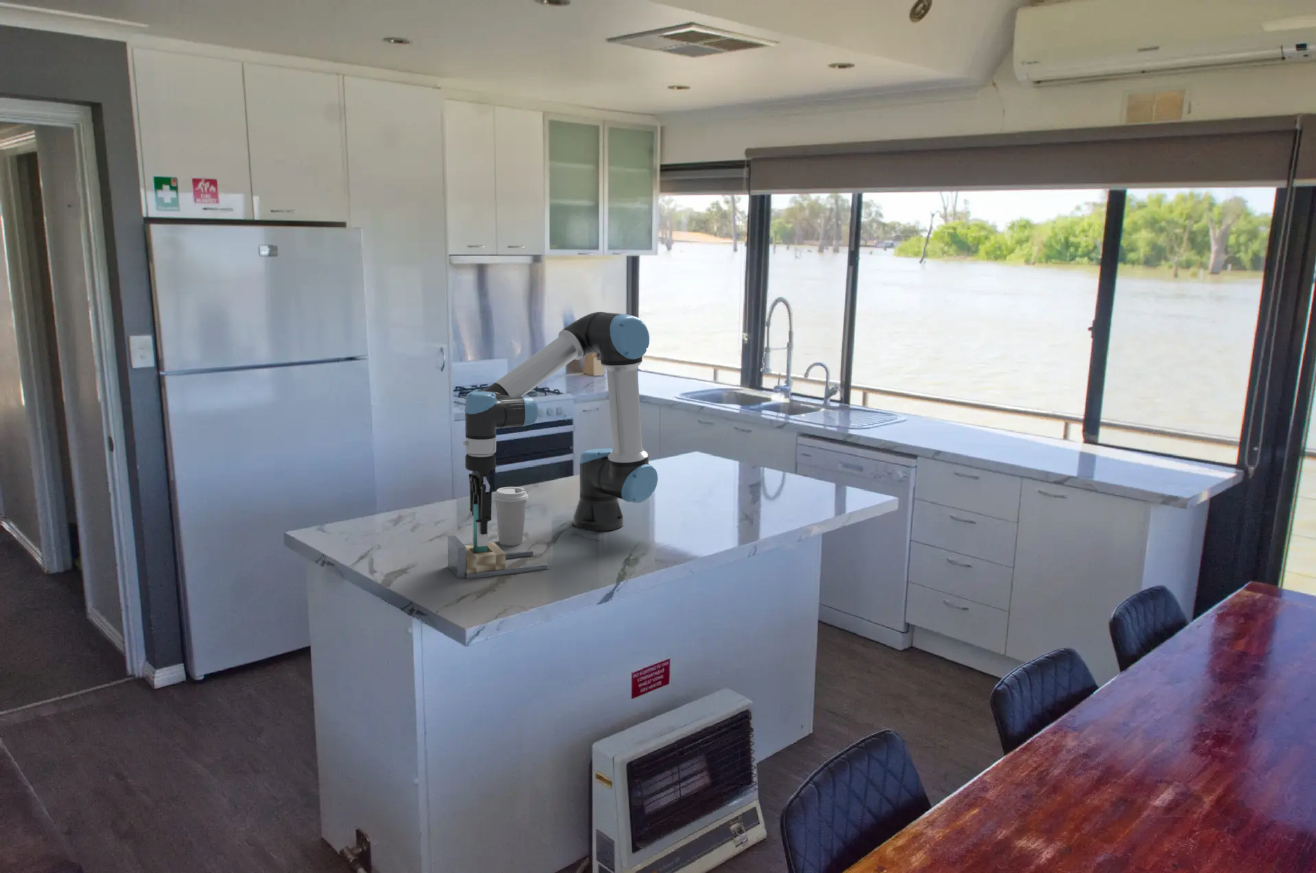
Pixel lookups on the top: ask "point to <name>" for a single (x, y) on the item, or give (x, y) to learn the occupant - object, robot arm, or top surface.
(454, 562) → the backstop
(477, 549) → the dowel
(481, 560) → the block
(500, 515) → the coffee cup
